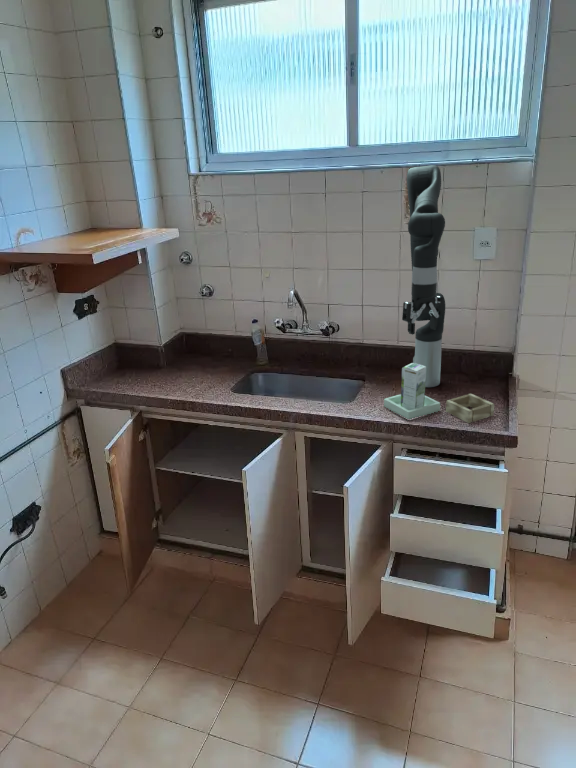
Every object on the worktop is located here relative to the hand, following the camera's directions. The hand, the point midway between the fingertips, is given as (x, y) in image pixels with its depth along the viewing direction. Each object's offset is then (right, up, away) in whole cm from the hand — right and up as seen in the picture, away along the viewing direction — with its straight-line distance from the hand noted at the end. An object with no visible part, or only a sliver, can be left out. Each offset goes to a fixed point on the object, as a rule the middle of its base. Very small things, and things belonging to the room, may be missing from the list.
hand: (422, 331), depth 184 cm
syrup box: (-1, -25, +9) cm, 26 cm away
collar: (+16, -26, +4) cm, 31 cm away
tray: (-1, -25, +9) cm, 27 cm away
